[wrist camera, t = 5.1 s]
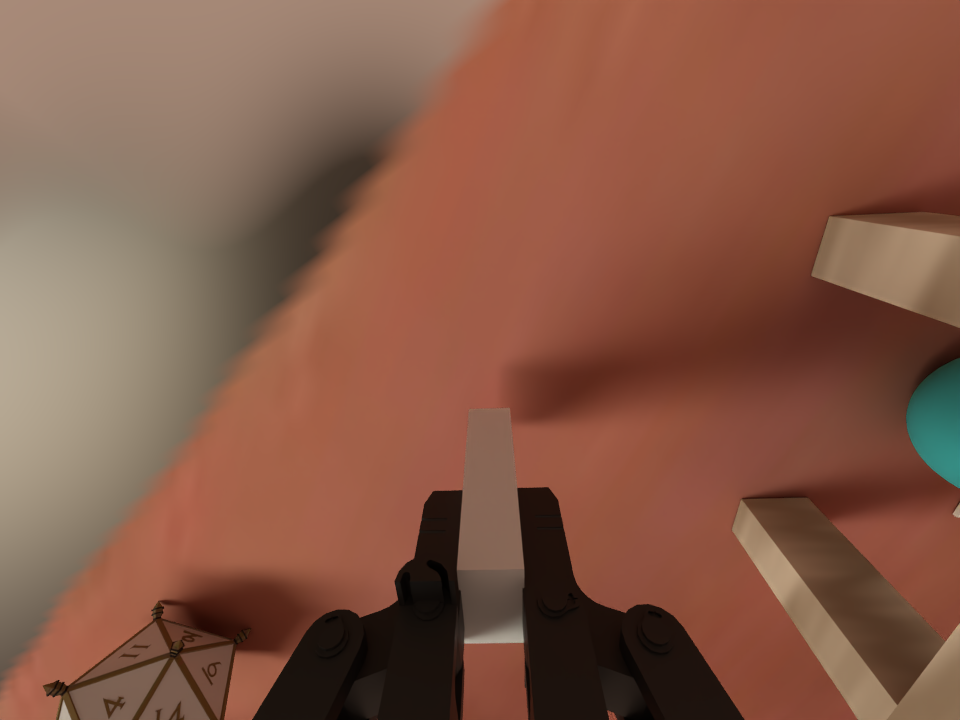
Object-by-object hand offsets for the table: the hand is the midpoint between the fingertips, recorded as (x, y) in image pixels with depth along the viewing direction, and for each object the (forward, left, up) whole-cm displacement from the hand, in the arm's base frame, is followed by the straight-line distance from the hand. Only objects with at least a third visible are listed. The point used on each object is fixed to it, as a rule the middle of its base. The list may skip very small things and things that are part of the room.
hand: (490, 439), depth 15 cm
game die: (-15, +18, -2) cm, 23 cm away
